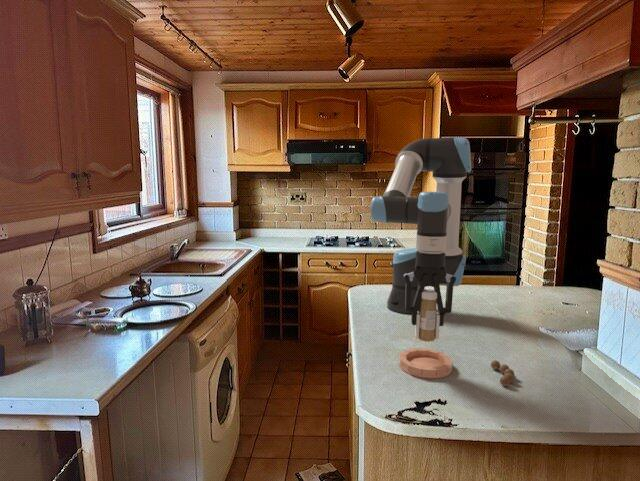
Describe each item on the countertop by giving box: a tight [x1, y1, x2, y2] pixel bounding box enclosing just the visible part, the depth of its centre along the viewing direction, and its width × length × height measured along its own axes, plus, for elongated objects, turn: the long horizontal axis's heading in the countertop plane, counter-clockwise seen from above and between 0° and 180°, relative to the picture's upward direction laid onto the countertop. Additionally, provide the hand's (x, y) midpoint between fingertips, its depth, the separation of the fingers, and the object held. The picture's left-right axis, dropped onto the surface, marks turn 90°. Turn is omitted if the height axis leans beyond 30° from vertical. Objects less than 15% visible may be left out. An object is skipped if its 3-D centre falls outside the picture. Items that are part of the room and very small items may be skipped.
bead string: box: [490, 360, 515, 387], centre depth 110 cm, size 12×5×2 cm, turn 174°
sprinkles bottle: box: [418, 288, 437, 343], centre depth 113 cm, size 5×5×13 cm
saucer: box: [398, 347, 453, 380], centre depth 115 cm, size 14×14×2 cm
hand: (426, 336), depth 114 cm, fingers closed on sprinkles bottle, 4 cm apart
